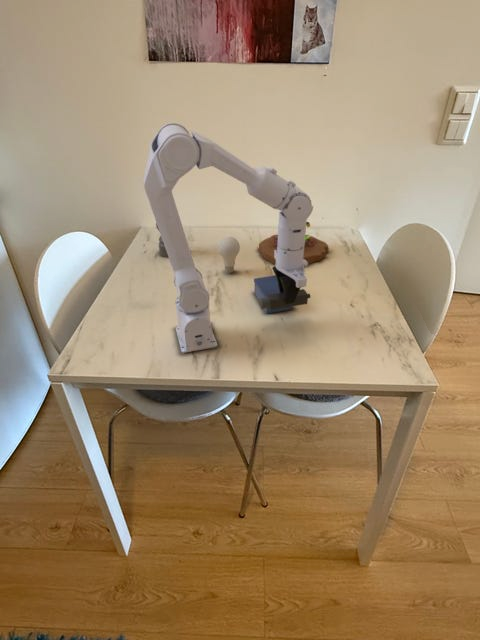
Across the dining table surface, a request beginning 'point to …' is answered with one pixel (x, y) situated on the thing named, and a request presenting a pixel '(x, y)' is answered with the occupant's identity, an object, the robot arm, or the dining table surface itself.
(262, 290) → the blue box
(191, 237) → the dining table surface
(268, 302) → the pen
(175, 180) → the robot arm
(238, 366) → the dining table surface
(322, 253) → the plant
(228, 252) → the lightbulb
